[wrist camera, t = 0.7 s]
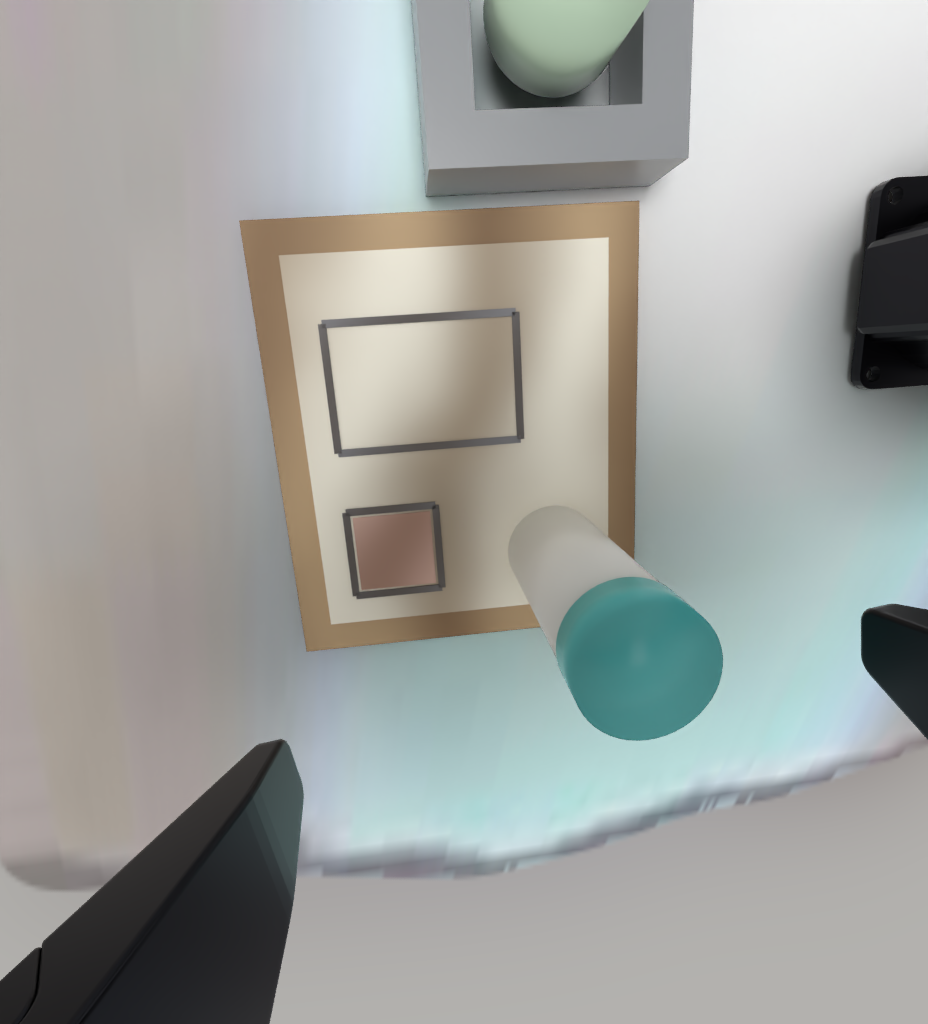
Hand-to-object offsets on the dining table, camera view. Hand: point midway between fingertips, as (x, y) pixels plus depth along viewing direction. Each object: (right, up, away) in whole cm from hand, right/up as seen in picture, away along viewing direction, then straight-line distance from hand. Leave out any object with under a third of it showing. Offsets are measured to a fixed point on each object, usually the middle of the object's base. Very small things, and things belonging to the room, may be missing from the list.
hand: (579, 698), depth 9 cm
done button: (+1, +16, +6) cm, 17 cm away
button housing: (0, +16, +8) cm, 18 cm away
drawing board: (-2, +5, +10) cm, 12 cm away
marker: (+1, +2, +11) cm, 12 cm away
